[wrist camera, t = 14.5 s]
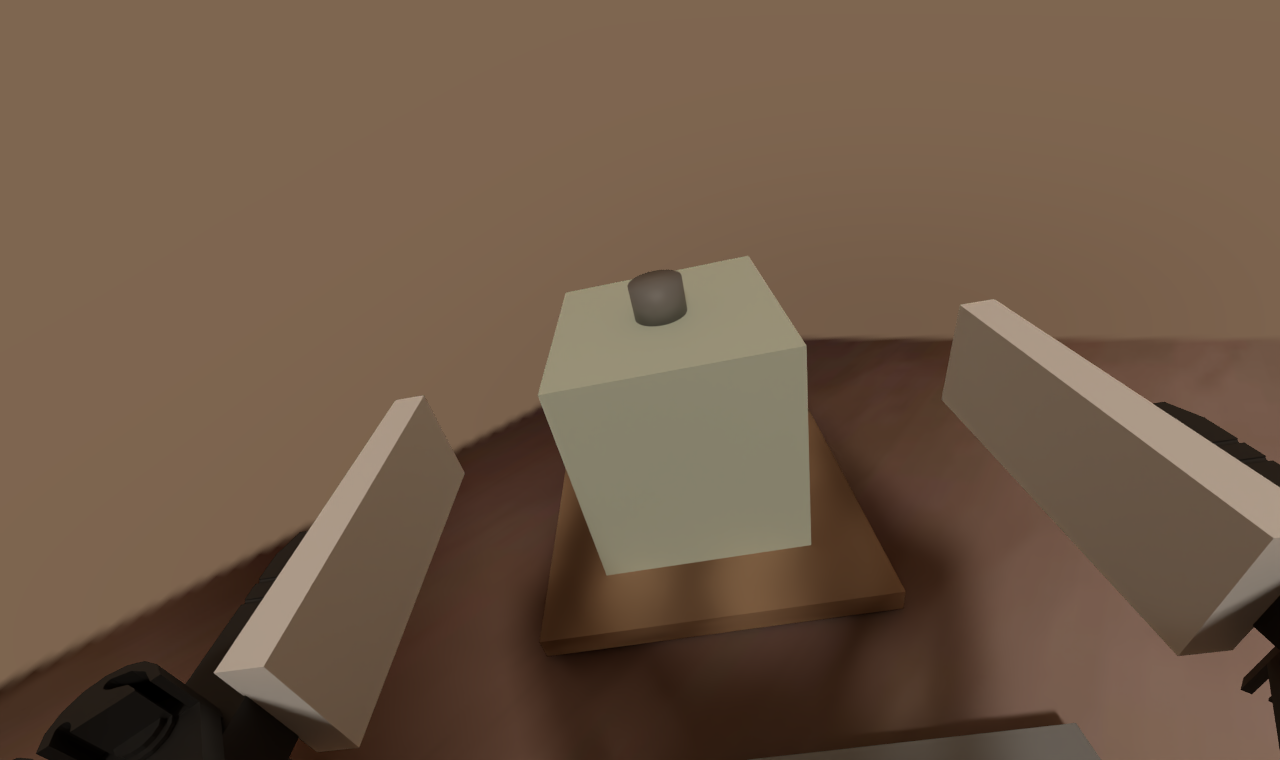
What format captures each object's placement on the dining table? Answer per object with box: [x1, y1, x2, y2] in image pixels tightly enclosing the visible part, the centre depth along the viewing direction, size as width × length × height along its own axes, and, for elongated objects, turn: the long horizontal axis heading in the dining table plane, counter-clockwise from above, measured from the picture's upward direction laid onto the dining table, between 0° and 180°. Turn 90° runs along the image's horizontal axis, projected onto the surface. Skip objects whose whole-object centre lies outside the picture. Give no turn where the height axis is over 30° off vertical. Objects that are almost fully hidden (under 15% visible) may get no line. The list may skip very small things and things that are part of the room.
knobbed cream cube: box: [538, 256, 811, 575], centre depth 25 cm, size 10×10×13 cm
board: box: [539, 409, 906, 656], centre depth 28 cm, size 16×16×1 cm
